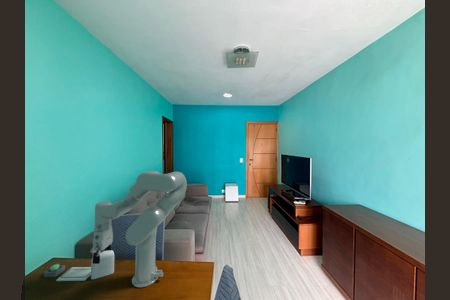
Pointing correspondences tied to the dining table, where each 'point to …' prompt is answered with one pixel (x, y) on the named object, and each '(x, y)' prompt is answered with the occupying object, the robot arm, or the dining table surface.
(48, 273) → the button housing
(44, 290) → the dining table surface
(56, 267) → the button
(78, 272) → the paper board
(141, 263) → the robot arm
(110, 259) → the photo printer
